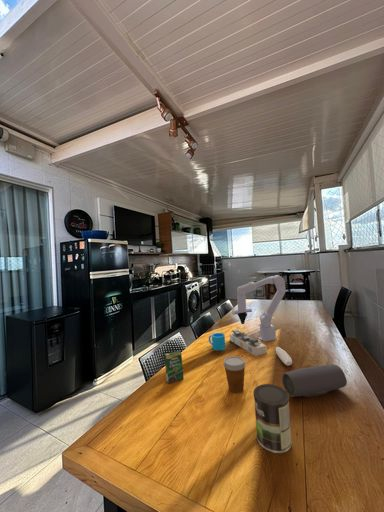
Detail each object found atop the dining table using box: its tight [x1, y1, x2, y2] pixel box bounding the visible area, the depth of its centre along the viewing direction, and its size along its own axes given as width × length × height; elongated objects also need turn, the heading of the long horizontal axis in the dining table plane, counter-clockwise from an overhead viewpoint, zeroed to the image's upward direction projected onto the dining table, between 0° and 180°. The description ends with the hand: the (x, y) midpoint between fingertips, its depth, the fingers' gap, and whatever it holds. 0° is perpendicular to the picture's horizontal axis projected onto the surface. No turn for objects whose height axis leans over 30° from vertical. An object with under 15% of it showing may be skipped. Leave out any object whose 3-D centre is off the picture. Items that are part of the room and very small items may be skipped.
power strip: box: [229, 332, 268, 357], centre depth 143 cm, size 8×34×5 cm, turn 21°
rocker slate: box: [248, 338, 260, 343], centre depth 131 cm, size 3×6×2 cm, turn 21°
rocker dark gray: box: [240, 331, 250, 341], centre depth 140 cm, size 3×6×2 cm, turn 21°
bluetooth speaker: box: [281, 364, 348, 398], centre depth 90 cm, size 23×9×10 cm, turn 100°
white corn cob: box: [275, 346, 293, 366], centre depth 120 cm, size 5×20×5 cm, turn 177°
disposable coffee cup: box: [222, 355, 246, 394], centre depth 96 cm, size 10×10×12 cm
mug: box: [208, 332, 226, 352], centre depth 142 cm, size 12×8×8 cm
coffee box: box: [164, 350, 184, 385], centre depth 106 cm, size 8×3×13 cm, turn 113°
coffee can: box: [252, 383, 293, 454], centre depth 69 cm, size 10×10×14 cm
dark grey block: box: [232, 328, 242, 336], centre depth 148 cm, size 3×6×2 cm, turn 21°
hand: (242, 323), depth 153 cm, fingers closed
